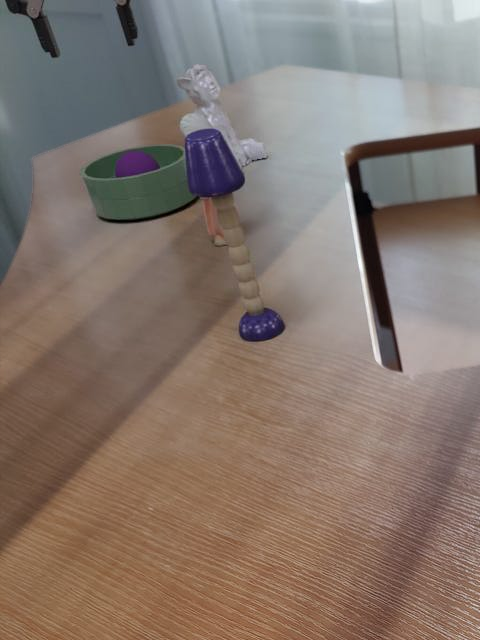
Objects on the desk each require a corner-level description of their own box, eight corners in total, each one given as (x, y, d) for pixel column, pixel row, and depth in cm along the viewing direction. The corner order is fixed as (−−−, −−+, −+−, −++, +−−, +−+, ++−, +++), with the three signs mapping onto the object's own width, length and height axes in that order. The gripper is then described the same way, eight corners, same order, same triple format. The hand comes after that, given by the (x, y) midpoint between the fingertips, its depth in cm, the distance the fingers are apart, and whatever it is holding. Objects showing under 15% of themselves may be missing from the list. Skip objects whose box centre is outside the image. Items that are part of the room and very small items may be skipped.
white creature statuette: (236, 179, 114) (207, 73, 106) (181, 179, 117) (149, 75, 109) (271, 156, 121) (246, 54, 112) (218, 156, 123) (189, 56, 115)
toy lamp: (288, 337, 80) (234, 134, 68) (237, 348, 79) (174, 146, 67) (281, 316, 83) (229, 119, 71) (233, 327, 82) (172, 130, 70)
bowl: (91, 231, 106) (73, 187, 102) (102, 196, 115) (86, 155, 112) (199, 212, 107) (186, 167, 103) (201, 179, 116) (189, 138, 113)
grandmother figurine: (214, 230, 102) (177, 106, 93) (247, 225, 102) (213, 101, 93) (207, 255, 96) (166, 126, 87) (241, 250, 96) (204, 121, 87)
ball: (123, 211, 108) (105, 162, 104) (127, 196, 112) (110, 149, 108) (168, 203, 109) (152, 154, 105) (170, 189, 113) (155, 141, 109)
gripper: (104, -150, 91) (158, 35, 102) (-35, -132, 90) (35, 54, 101) (97, -148, 86) (155, 47, 97) (-52, -128, 84) (25, 67, 96)
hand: (94, 50), depth 99 cm, fingers open, 8 cm apart
